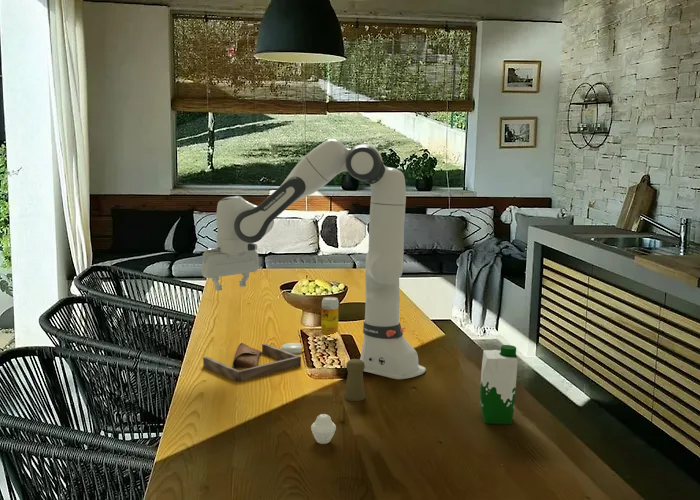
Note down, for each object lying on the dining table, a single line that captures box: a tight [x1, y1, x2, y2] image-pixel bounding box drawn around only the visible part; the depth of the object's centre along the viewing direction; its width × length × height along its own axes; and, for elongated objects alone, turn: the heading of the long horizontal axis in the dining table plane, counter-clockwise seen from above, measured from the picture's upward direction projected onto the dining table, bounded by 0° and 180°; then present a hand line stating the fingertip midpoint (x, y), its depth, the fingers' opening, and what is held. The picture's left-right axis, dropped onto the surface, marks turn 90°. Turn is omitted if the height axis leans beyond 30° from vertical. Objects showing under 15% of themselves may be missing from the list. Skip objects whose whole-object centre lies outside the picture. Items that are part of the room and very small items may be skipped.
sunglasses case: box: [232, 342, 263, 369], centre depth 246 cm, size 18×7×7 cm, turn 4°
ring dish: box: [281, 342, 302, 355], centre depth 258 cm, size 8×8×2 cm
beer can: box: [320, 296, 340, 335], centre depth 272 cm, size 6×6×15 cm
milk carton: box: [479, 344, 519, 425], centre depth 200 cm, size 9×9×20 cm
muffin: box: [310, 413, 337, 445], centre depth 184 cm, size 6×6×7 cm
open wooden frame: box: [202, 343, 302, 383], centre depth 240 cm, size 19×24×3 cm
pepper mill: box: [343, 358, 366, 402], centre depth 214 cm, size 6×6×11 cm
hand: (230, 288), depth 245 cm, fingers open, 8 cm apart
